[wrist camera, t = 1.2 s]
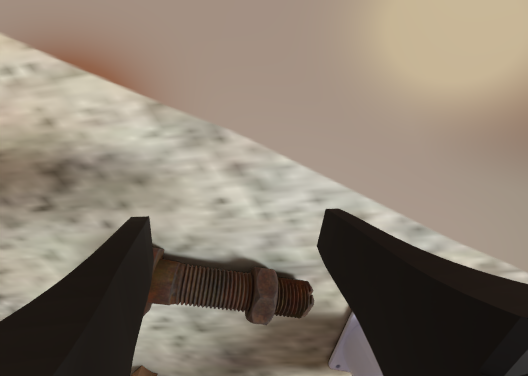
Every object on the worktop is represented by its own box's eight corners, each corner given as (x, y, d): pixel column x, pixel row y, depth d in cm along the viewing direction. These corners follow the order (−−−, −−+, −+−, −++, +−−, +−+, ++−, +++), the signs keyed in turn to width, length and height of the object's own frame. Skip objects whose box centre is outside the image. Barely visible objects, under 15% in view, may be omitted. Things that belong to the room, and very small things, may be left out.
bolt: (296, 281, 27) (148, 260, 24) (315, 257, 24) (145, 230, 21) (301, 343, 23) (123, 327, 20) (325, 325, 20) (115, 302, 17)
